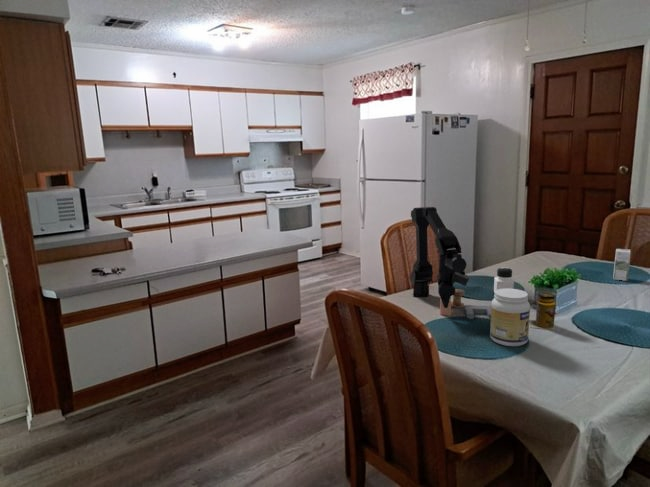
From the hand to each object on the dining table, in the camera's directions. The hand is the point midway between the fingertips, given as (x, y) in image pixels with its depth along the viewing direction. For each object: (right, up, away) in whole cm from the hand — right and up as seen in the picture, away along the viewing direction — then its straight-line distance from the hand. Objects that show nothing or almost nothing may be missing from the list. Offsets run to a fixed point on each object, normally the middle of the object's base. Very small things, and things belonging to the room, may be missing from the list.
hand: (445, 303), depth 180 cm
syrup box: (+93, +7, +35) cm, 100 cm away
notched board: (+13, -4, -2) cm, 14 cm away
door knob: (+7, -2, +8) cm, 11 cm away
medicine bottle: (+31, +1, +20) cm, 37 cm away
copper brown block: (0, -4, +1) cm, 4 cm away
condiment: (+32, -6, -14) cm, 35 cm away
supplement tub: (+15, -9, -26) cm, 31 cm away
